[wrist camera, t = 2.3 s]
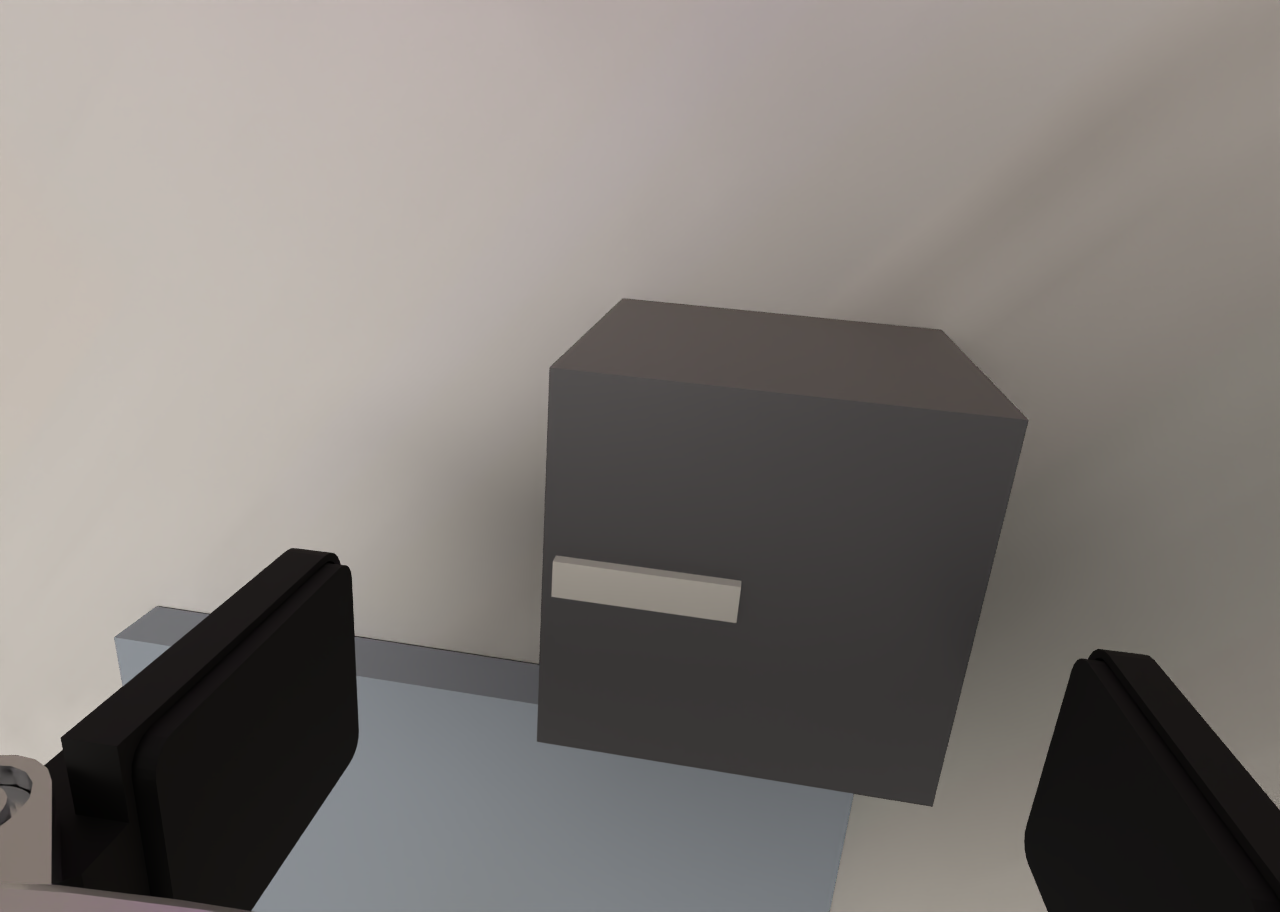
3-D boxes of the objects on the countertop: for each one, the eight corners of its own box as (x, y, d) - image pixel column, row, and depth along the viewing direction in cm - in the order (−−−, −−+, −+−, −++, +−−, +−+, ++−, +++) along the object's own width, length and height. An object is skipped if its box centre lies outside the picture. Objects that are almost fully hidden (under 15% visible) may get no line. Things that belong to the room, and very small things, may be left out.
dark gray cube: (941, 329, 16) (1032, 424, 11) (884, 610, 19) (934, 815, 13) (622, 298, 17) (545, 370, 11) (605, 572, 19) (533, 749, 14)
